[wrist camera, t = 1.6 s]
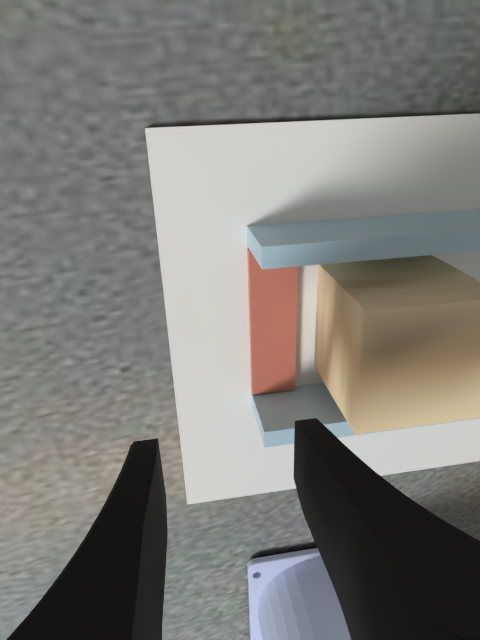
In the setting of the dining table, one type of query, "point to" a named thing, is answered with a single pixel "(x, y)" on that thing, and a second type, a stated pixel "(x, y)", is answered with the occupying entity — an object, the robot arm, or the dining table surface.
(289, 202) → the white mat
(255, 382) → the trough
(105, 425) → the dining table surface
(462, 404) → the maple block
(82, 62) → the dining table surface
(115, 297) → the dining table surface
